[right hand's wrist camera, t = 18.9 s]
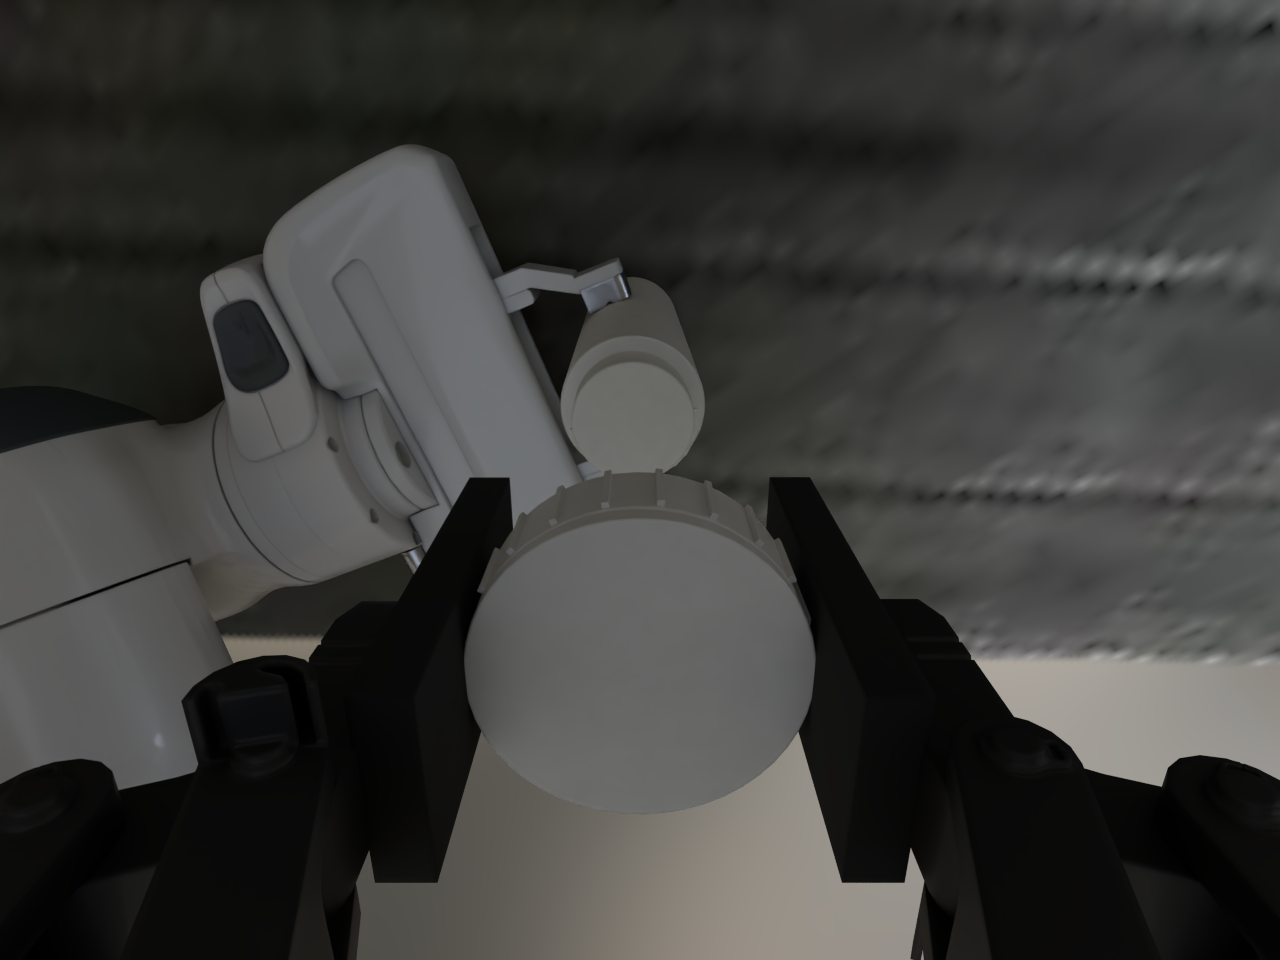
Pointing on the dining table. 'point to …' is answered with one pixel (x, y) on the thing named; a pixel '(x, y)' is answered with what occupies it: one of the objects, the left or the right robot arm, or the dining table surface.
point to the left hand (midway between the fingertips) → (651, 343)
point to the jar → (633, 385)
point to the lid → (639, 645)
